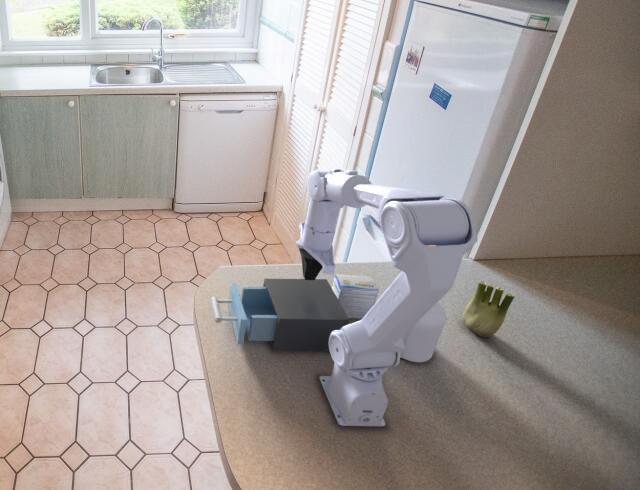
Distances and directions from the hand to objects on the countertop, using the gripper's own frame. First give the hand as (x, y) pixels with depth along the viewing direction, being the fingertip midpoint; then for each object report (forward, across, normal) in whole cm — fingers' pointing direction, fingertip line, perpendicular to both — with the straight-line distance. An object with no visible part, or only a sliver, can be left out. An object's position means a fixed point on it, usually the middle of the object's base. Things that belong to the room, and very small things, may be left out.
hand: (308, 278), depth 96 cm
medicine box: (+11, -1, +11) cm, 15 cm away
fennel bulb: (+11, +4, +36) cm, 38 cm away
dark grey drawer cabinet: (+10, +4, -2) cm, 11 cm away
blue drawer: (+9, +4, -12) cm, 16 cm away
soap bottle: (+11, +8, +19) cm, 23 cm away
